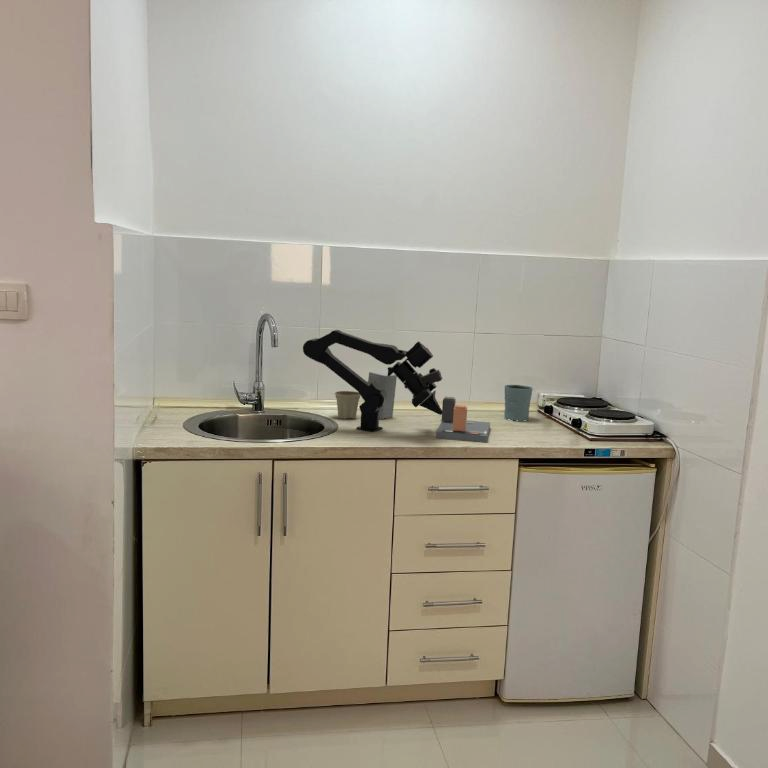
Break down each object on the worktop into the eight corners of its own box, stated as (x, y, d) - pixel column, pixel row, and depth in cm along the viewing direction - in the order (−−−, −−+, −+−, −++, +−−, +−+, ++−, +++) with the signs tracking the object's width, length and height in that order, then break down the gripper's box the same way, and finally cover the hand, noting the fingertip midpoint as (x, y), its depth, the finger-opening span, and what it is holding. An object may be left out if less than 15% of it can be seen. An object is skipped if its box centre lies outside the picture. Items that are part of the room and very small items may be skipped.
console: (434, 437, 243) (434, 430, 243) (441, 424, 264) (441, 417, 264) (486, 442, 240) (486, 435, 240) (489, 428, 262) (490, 421, 261)
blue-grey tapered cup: (508, 421, 274) (510, 388, 272) (497, 416, 283) (500, 384, 282) (534, 421, 276) (537, 389, 274) (523, 416, 286) (525, 384, 284)
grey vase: (364, 415, 272) (366, 371, 269) (377, 413, 277) (379, 370, 275) (382, 420, 266) (384, 375, 264) (395, 417, 272) (397, 373, 269)
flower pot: (336, 413, 273) (337, 389, 272) (362, 415, 272) (363, 391, 271) (331, 418, 264) (331, 394, 263) (357, 421, 263) (358, 396, 261)
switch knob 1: (441, 420, 258) (442, 398, 257) (442, 418, 262) (444, 396, 261) (453, 421, 257) (454, 399, 256) (454, 419, 261) (455, 397, 260)
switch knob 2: (452, 430, 244) (453, 406, 242) (453, 427, 247) (455, 404, 246) (464, 431, 243) (466, 407, 242) (465, 428, 247) (467, 405, 246)
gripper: (424, 364, 235) (458, 402, 235) (431, 357, 253) (462, 393, 253) (397, 388, 237) (431, 425, 237) (406, 379, 255) (437, 414, 255)
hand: (441, 413), depth 245 cm, fingers closed
